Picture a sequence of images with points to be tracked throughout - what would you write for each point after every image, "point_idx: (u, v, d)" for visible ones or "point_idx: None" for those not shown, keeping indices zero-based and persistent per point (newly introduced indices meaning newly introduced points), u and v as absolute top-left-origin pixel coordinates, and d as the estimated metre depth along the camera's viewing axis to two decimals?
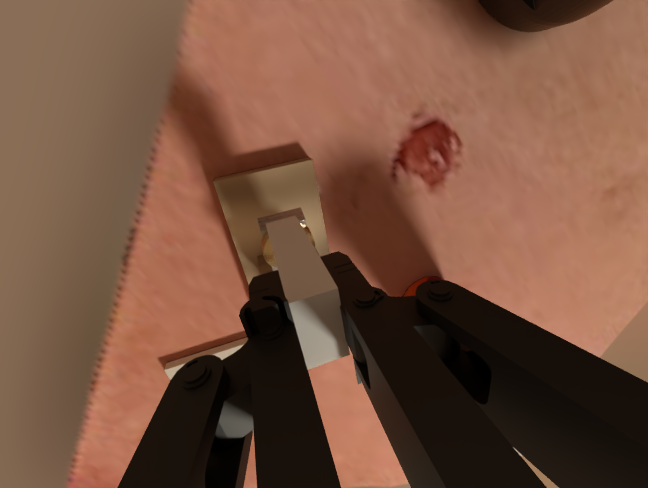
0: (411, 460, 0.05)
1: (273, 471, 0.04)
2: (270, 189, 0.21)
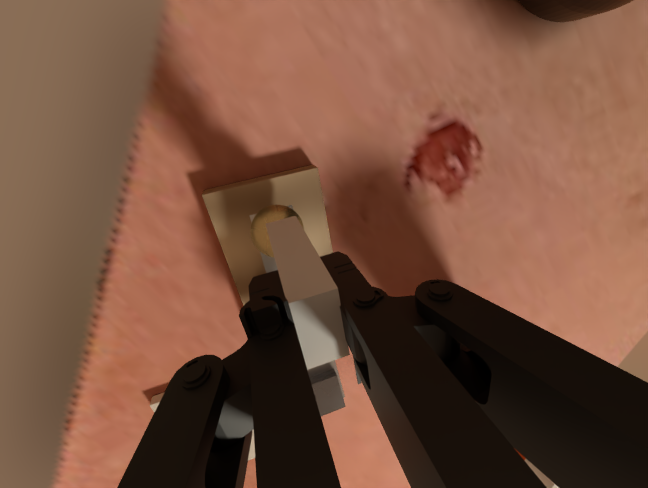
0: (411, 460, 0.05)
1: (273, 471, 0.04)
2: (269, 202, 0.18)
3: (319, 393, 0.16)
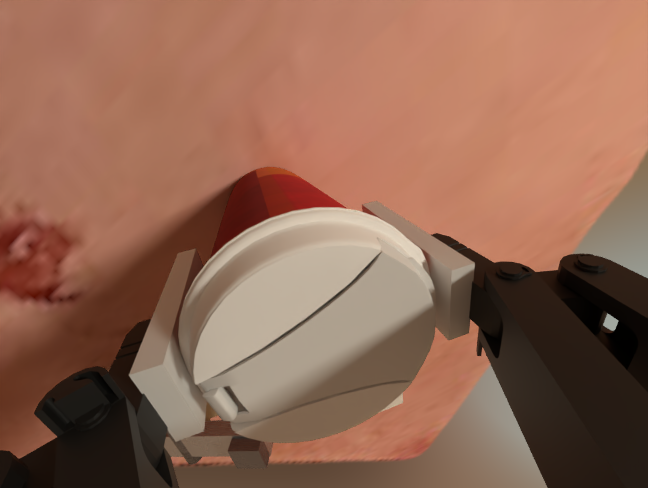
0: (543, 422, 0.06)
1: None
2: None
3: (243, 461, 0.18)
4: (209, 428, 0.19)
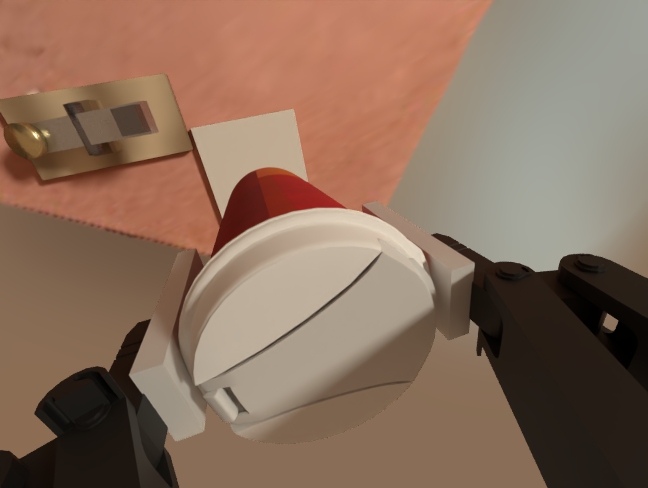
0: (543, 422, 0.06)
1: None
2: None
3: (124, 124, 0.22)
4: (101, 109, 0.23)
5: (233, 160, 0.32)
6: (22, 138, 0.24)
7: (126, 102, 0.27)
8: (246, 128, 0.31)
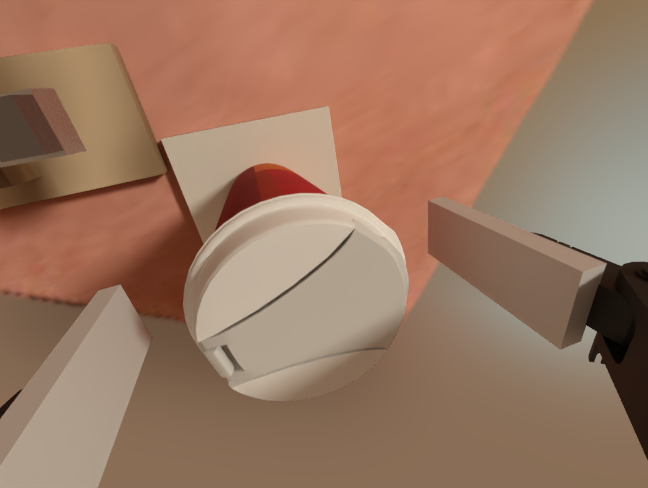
0: None
1: None
2: None
3: (1, 138, 0.11)
4: None
5: None
6: None
7: None
8: (253, 138, 0.19)
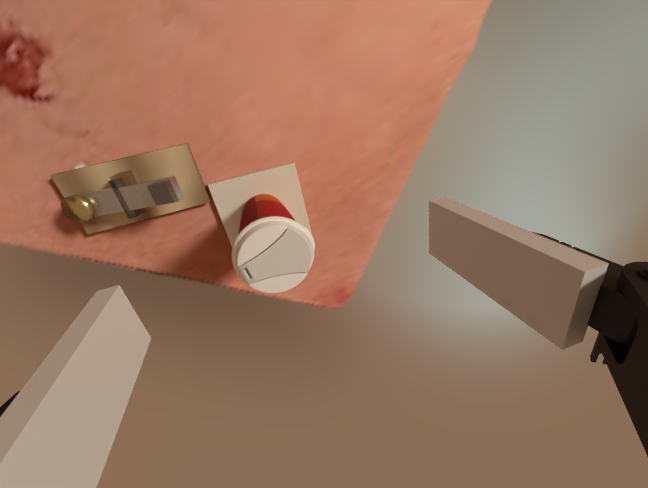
0: None
1: None
2: None
3: (158, 197, 0.28)
4: (138, 183, 0.29)
5: None
6: (75, 208, 0.29)
7: (155, 169, 0.33)
8: (254, 181, 0.36)
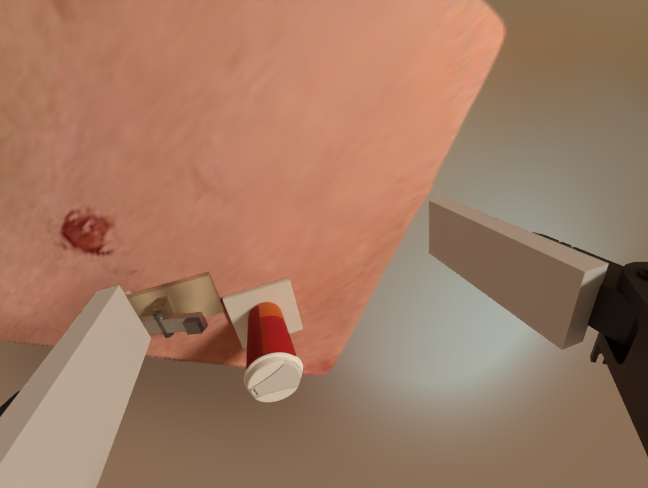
0: None
1: None
2: None
3: (190, 329, 0.38)
4: (175, 316, 0.39)
5: None
6: None
7: (184, 293, 0.43)
8: (258, 294, 0.47)
